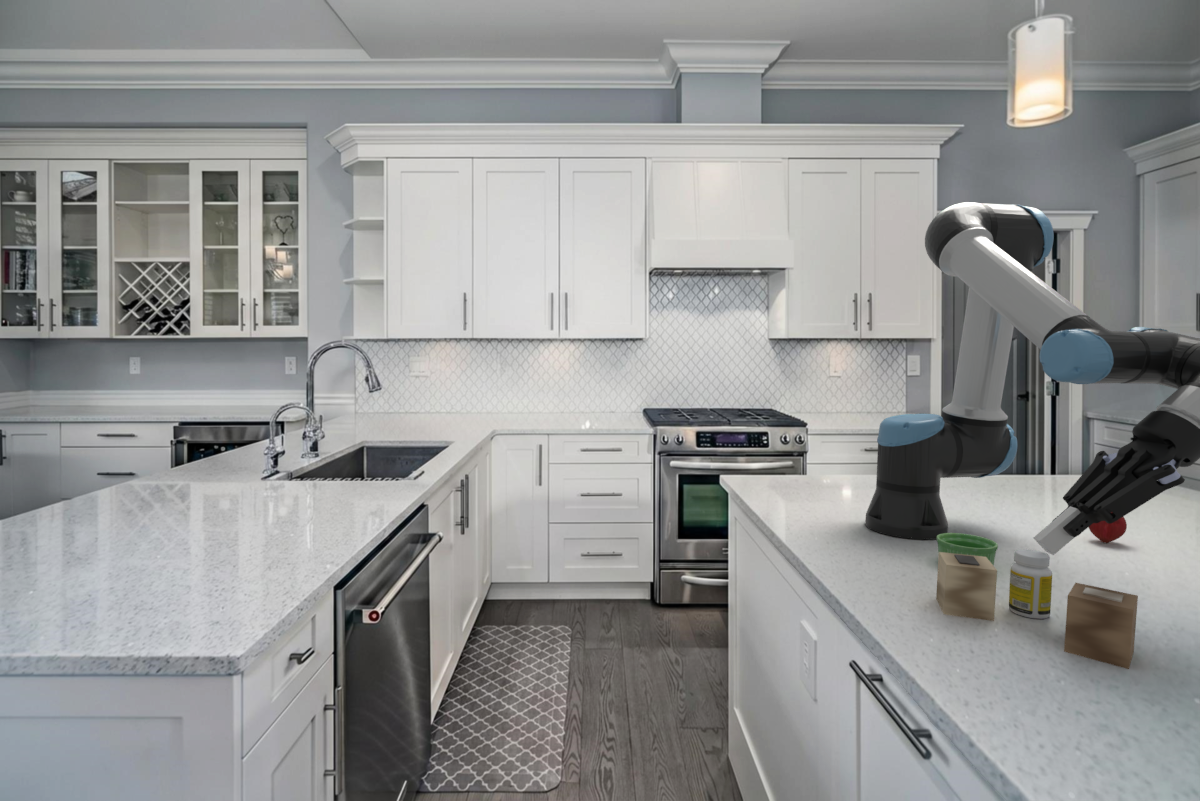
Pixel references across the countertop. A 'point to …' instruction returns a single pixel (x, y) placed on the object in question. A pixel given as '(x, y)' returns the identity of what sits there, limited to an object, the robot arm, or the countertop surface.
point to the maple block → (966, 586)
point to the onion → (1108, 530)
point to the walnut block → (1101, 624)
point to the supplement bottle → (1030, 584)
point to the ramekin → (967, 545)
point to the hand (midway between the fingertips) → (1043, 546)
